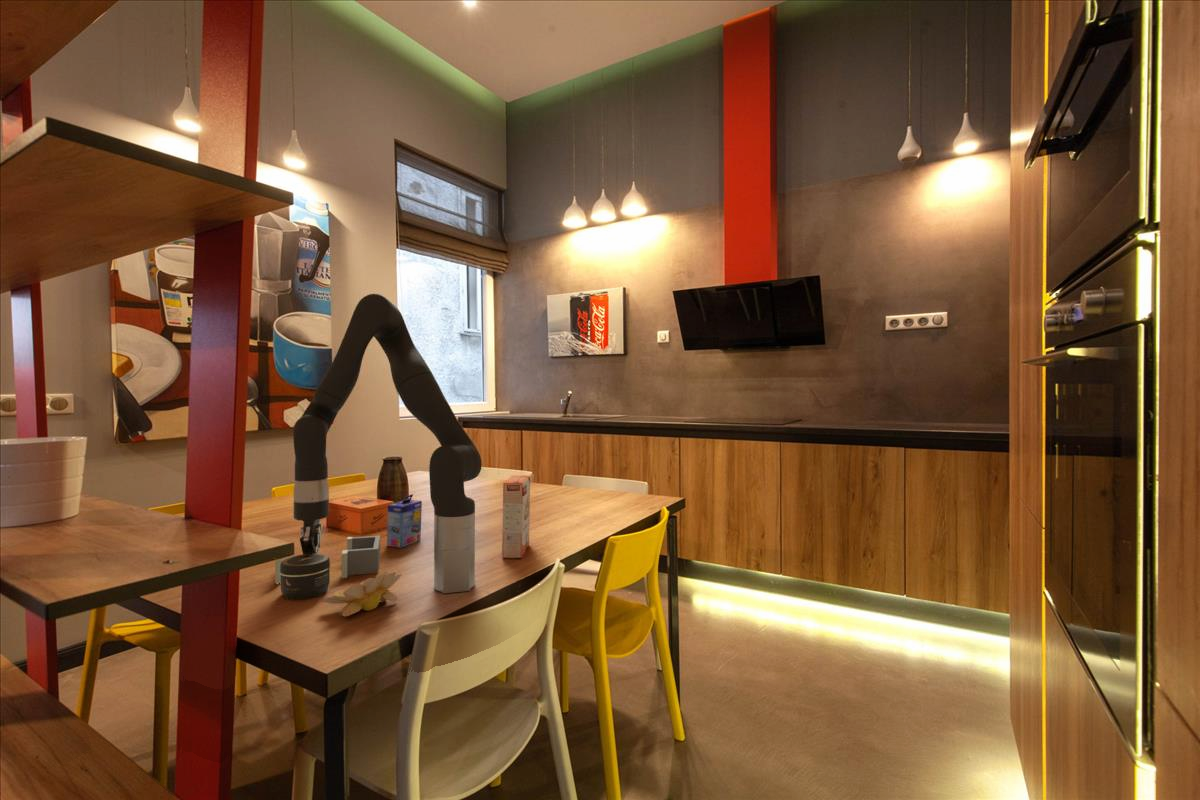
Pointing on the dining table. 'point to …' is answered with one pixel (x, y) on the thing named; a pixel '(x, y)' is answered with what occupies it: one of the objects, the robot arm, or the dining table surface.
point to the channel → (353, 557)
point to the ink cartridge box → (404, 522)
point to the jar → (305, 576)
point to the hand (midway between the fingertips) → (311, 569)
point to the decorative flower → (365, 594)
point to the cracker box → (516, 516)
